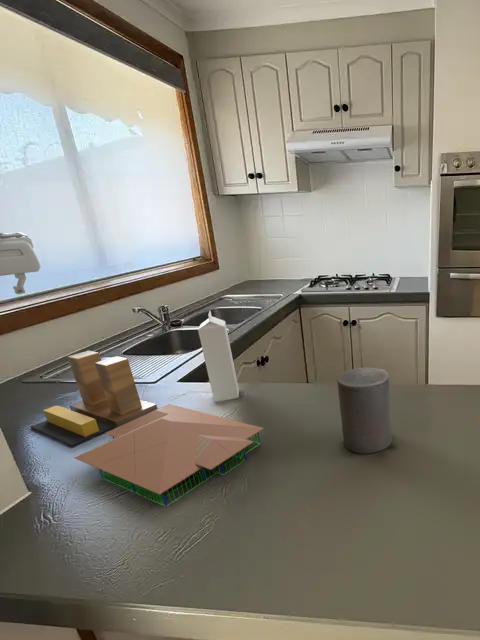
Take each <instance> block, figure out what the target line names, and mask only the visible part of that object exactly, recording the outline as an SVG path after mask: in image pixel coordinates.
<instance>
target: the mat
mask: <svg viewBox="0 0 480 640" xmlns="http://www.w3.org/2000/svg"><path fill="white" fill-rule="evenodd" d="M96 422H97V425H98V428H99V431H98V432H96V433H93V434H91V435H89V436H87V437H84V436H82V435H79V434H77V433H74V432H72V431H70V430H67V429H65V428H62V427H60V426H57V425H55V424H53V423H50V422H48V421H47V419H46V420H44V421H41V422H38V423H36V424H33V425H30V426H29V427H30V429H31V430H33V431H35V432H38V433H39V434H42V435H44V436H46V437H49V438H51V439H53V440H56V441H57V442H60V443H62V444H64V445H66V446H69V447H71V448H74V447H76V446H79V445H82V444H83V443H86V442H89V441H90V440H93V439H95V438H97V437H99V436H102V435H103V434H104V435H105V433H106V432H108V431H111V430H113V429H115V428H116V427H115V426H112V425H110V424H107V423H104V422H101V421H99V420H96Z"/></svg>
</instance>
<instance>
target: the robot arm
mask: <svg viewBox="0 0 480 640" xmlns="http://www.w3.org/2000/svg"><path fill="white" fill-rule="evenodd" d="M40 269H41V263H40V261H39V259H38V257H37V255H36V253H35V251H34V244H33V241H32V238H31V237H30V236H28V235H27V234H24V233H22V232H0V277H1V276H2V277H3V276H12V275H14V278H15V279H17V283H16V285H15V286H12V289H13V291H14V293H15V294H16V295H22V294H26V290H25V287H24V285H25V283H26V280H27V276H26V274H28V273H37V272H39V271H40Z"/></svg>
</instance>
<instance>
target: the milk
mask: <svg viewBox="0 0 480 640" xmlns="http://www.w3.org/2000/svg"><path fill="white" fill-rule="evenodd" d="M207 316H208V318H207V319H206V320H204V321H203V322H201V323H200V324H199V326H198V329H197V332H198V337H199V340H200V345H201V348H202V349H201V350H202V354H203V358H204V359H203V360H204V363H205V368H206V372H207V376H208V381H209V386H210V389H211V394H212V398H213V402H214V403H219V402H223V401H229V400H236V399H239V397H240V396H239V395H240V388H239V383H238V379H237V374H236V367H235V365H234V364H235V362H234V359H233V354H232V349H231V348H232V347H231V343H230V339H229V333H228V328H227V323H226V320H224V319H221V318H218V317H215V316H212V312H211V310H209V312H208V314H207Z"/></svg>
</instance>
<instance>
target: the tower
mask: <svg viewBox="0 0 480 640" xmlns="http://www.w3.org/2000/svg"><path fill="white" fill-rule="evenodd" d="M67 359H68V363H69V365H70V368H71V371H72V374H73V377H74V380H75V382H76V385H77V389H78V391H79V394H80V397H81V400H79V401H77V402H74V403H72V404H69V405H68V406H69V410H72V411H74V412H77V413H80V414H83V415H86V416H88V417H91V418H94V419H96V420H99V421H101V422H104V423H107V424H110V425H112V426H115V428H117V427H119V426H122V425H124V424H126V423H128V422H130V421H133V420H135V419H137V418H139V417H141V416H144V415H146V414H148V413H150V412H152V411H155V410H157V409H159V408H158V404H156V403H153V402H150V401H146V400H143V399H141V398H140V396H139V395H140V394H139V392H138V389H137V385H136V382H135V379H134V376H133V375H134V374H133V371H132V368H131V365H130V361H129V358H127V357H123V356H122V357H121V356H117V355H115V356H112V357H110V358H109V359H106V360H102V361H101V355H100V352H97V351H93V350H86V351H83V352H78V353H75V354H71V355H68V356H67Z"/></svg>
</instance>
